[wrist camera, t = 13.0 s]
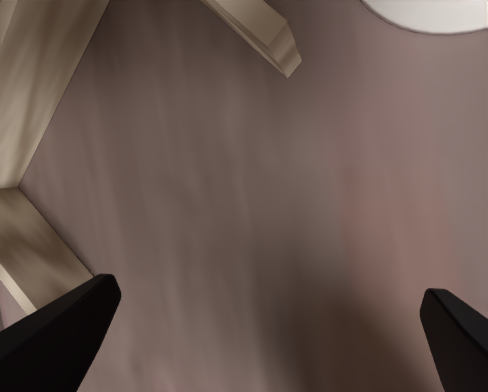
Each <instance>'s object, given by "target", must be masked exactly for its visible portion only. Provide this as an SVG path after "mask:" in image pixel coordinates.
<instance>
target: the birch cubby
mask: <svg viewBox="0 0 488 392" xmlns="http://www.w3.org/2000/svg"><path fill="white" fill-rule="evenodd" d="M109 1H110V0H1V3H0V280H1V281H2V283H3V284H4V285H5V286H6V288H7V289H8V290H9V292H10V293H11V294H12V295H13V297H14V298H15V299H16V300H17V302H18V303H19V304H20V306H21V307H22V308H23V309H24V311H25V312H26V313H27V315H30V314H31V313H33V312H35V311H36V310H38V309H40V308H42V307H43V306H45V305H47V304H48V303H50V302H52V301H54V300H55V299H57V298H59V297H60V296H62V295H64V294H66V293H67V292H69V291H71V290H72V289H74V288H76V287H78V286H79V285H81V284H83V283H84V282H86V281H88V280H90V279H91V278H93V276H92V274H91V273H90V272H89V271H88V270H87V269H86V267H85V266H84V265H83V264H82V263H81V261H80V260H79V259H78V258H77V257H76V256H75V254H74V253H73V252H72V251H71V250H70V248H69V247H68V246H67V245H66V244H65V243H64V241H63V240H62V239H61V238H60V237H59V235H58V234H57V233H56V232H55V231H54V230H53V228H52V227H51V226H50V225H49V224H48V222H47V221H46V220H45V219H44V218H43V217H42V215H41V214H40V213H39V212H38V211H37V209H36V208H35V207H34V206H33V205H32V204H31V202H30V201H29V200H28V199H27V198H26V196H25V195H24V194H23V193H22V192H21V191H20V189H19V188H18V185H19V183H20V181H21V179H22V177H23V175H24V173H25V171H26V169H27V167H28V165H29V163H30V161H31V159H32V157H33V155H34V153H35V151H36V149H37V147H38V145H39V143H40V141H41V139H42V136H43V134H44V132H45V130H46V128H47V126H48V124H49V122H50V120H51V118H52V116H53V114H54V112H55V110H56V108H57V106H58V104H59V102H60V100H61V98H62V96H63V94H64V92H65V90H66V88H67V86H68V84H69V82H70V80H71V78H72V76H73V74H74V72H75V70H76V68H77V66H78V64H79V62H80V59H81V57H82V55H83V53H84V51H85V49H86V47H87V45H88V43H89V41H90V39H91V37H92V35H93V33H94V31H95V29H96V27H97V25H98V23H99V21H100V19H101V17H102V15H103V13H104V11H105V9H106V7H107V5H108V3H109ZM200 1H201V2H202V3H203V4H205V5H206V6H207V7H208V8H209V9H210V10H211V11H213V12H214V13H215V14H216V15H217V16H218V17H219V18H220V19H222V20H223V21H224V22H225V23H226V24H227V25H228V26H229V27H231V28H232V29H233V30H234V31H235V32H236V33H237V34H238V35H240V36H241V37H242V38H243V39H244V40H245V41H246V42H247V43H249V44H250V45H251V46H252V47H253V48H254V49H255V50H256V51H258V52H259V53H260V54H261V55H262V56H263V57H264V58H265V59H267V60H268V61H269V62H270V63H271V64H272V65H273V66H274V67H276V68H277V69H278V70H279V71H280V72H281V73H282V74H283V75H285V76H286V77H287V78H288V77H289V76H290V75H291V74H292V72H293V71H294V70H295V69H296V68H297V66H298V65H299V64H300V63H301V61H302V60H301V57H300V55H299V52H298V49H297V46H296V44H295V41H294V38H293V35H292V32H291V30H290V27H289V24H288V21H287V20H286V19H284V18H283V17H282V16H281V15H280V14H279V13H277V12H276V11H275V10H274V9H273V8H271V7H270V6H269V5H268V4H267V3H266V2H264V1H263V0H200Z"/></svg>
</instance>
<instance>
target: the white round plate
mask: <svg viewBox="0 0 488 392" xmlns="http://www.w3.org/2000/svg"><path fill="white" fill-rule="evenodd" d="M360 1H361V2H362V3H363V4H364V5H365V6H366V7H367V8H368V9H369V10H370V11H371V12H372V13H373V14H375V15H376V16H378V17H379V18H381V19H382V20H384V21H385V22H387V23H389V24H391V25H393V26H396V27H398V28H400V29H404V30H407V31H411V32H414V33H421V34H427V35H457V34H467V33H472V32H477V31H481V30H486V29H488V0H360Z"/></svg>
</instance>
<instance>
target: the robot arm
mask: <svg viewBox="0 0 488 392" xmlns="http://www.w3.org/2000/svg"><path fill="white" fill-rule="evenodd" d="M120 300H121V291H120V288H119V286H118V283H117V281H116V279H115V277H114V275H112V274H98V275H96V276H95V277H93V278H91V279H90V280H88V281H86V282H84V283H83V284H81V285H79V286H78V287H76V288H74V289H72V290H71V291H69V292H67V293H66V294H64V295H62V296H60V297H59V298H57V299H55V300H54V301H52V302H50V303H48V304H47V305H45V306H43V307H42V308H40V309H38V310H36V311H35V312H33V313H31V314H30V315H28V316H26V317H24V318H23V319H21V320H19V321H18V322H16V323H14V324H12V325H11V326H9V327H7V328H6V329H4V330H2V331H1V332H0V392H77V390H78V388H79V386H80V384H81V382H82V381H83V379H84V377H85V375H86V373H87V371H88V369H89V368H90V366H91V364H92V362H93V360H94V358H95V356H96V354H97V352H98V351H99V349H100V346H101V344H102V342H103V340H104V338H105V335H106V333H107V331H108V328H109V326H110V324H111V321H112V319H113V317H114V314H115V312H116V310H117V307H118V305H119V303H120ZM420 319H421V322H422V325H423V329H424V332H425V335H426V338H427V341H428V344H429V347H430V350H431V353H432V356H433V359H434V363H435V366H436V369H437V372H438V375H439V378H440V380H441V383H442V386H443V388H444V391H445V392H488V319H487V318H486V317H484V316H483V315H482V314H480V313H479V312H477V311H476V310H475V309H473V308H472V307H470V306H469V305H468V304H466V303H465V302H464V301H462V300H461V299H459V298H458V297H457V296H455V295H454V294H452V293H451V292H450V291H448V290H446V289H437V288H428V289H427V290H426V291H425V294H424V297H423V301H422V304H421V307H420Z"/></svg>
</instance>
